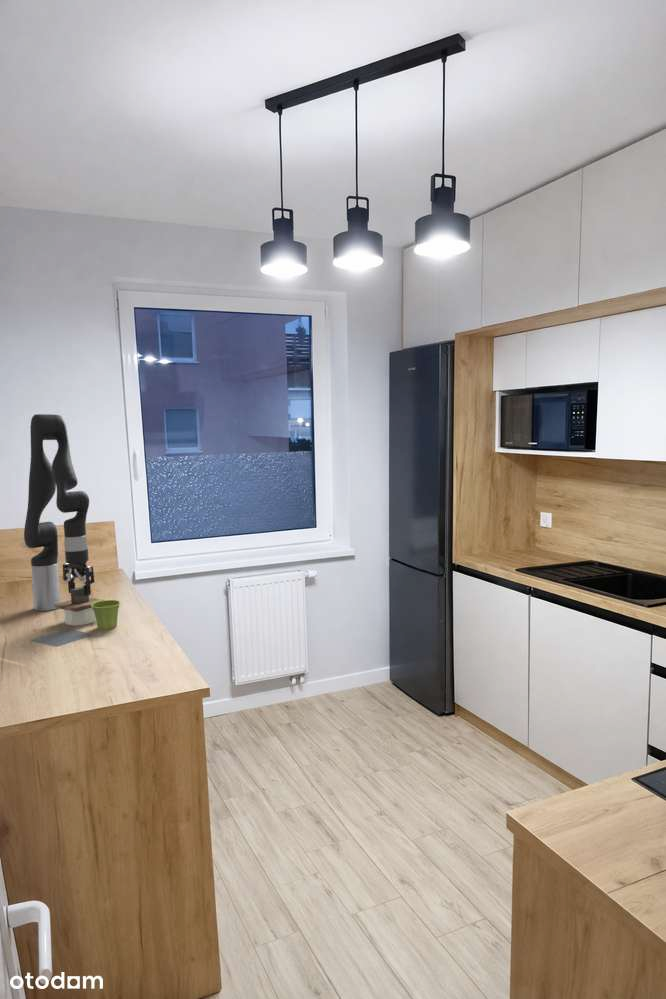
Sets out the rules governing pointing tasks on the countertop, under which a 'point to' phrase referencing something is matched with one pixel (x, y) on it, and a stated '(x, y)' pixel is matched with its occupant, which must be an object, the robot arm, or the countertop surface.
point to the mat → (62, 637)
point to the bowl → (80, 617)
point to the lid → (77, 601)
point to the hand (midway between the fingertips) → (79, 594)
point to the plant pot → (106, 613)
